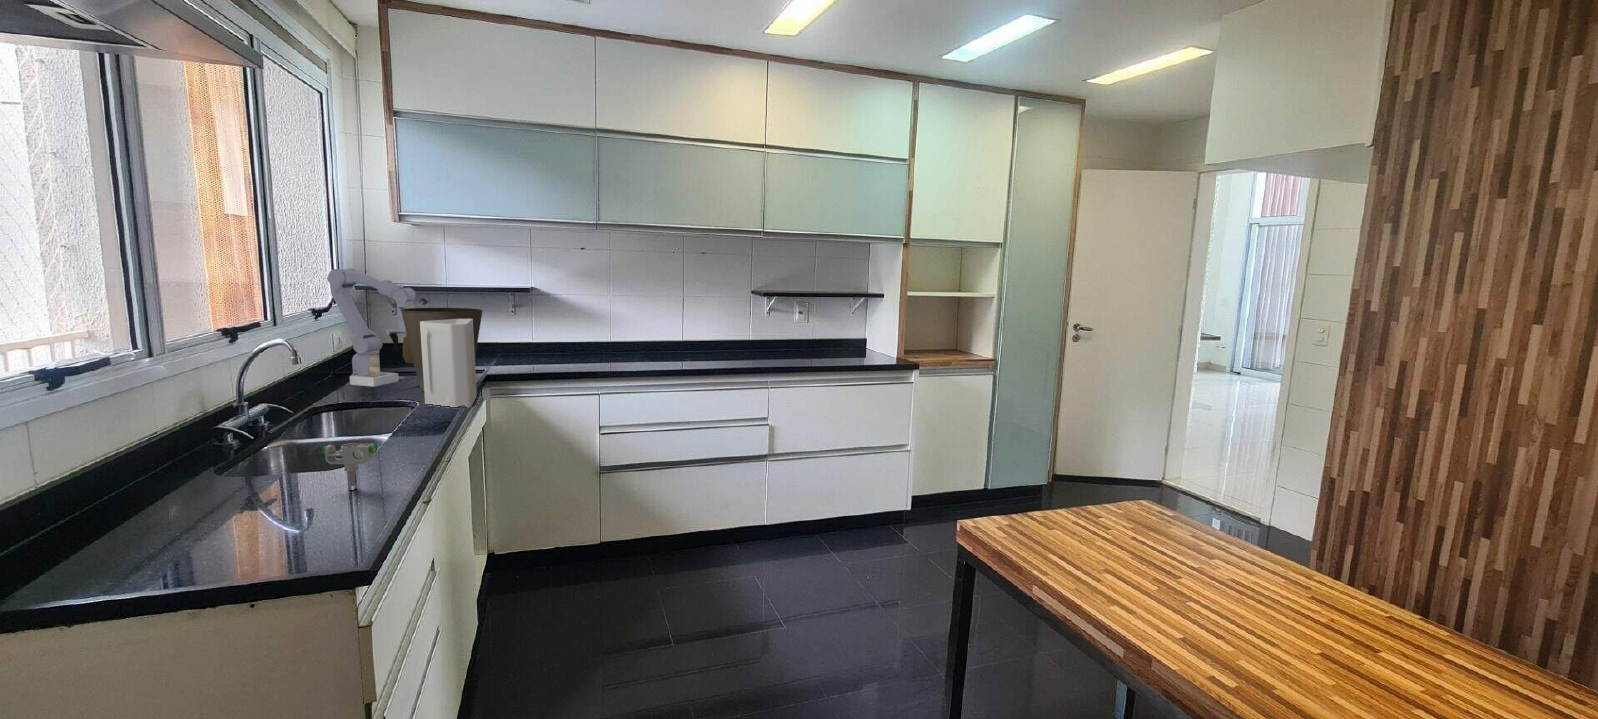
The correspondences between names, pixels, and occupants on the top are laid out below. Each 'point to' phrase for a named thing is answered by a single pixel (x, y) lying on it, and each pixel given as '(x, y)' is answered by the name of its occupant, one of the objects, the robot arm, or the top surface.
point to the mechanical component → (350, 457)
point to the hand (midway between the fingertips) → (408, 351)
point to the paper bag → (448, 362)
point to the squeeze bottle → (407, 351)
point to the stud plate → (401, 377)
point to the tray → (374, 379)
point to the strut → (373, 366)
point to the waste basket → (417, 315)
